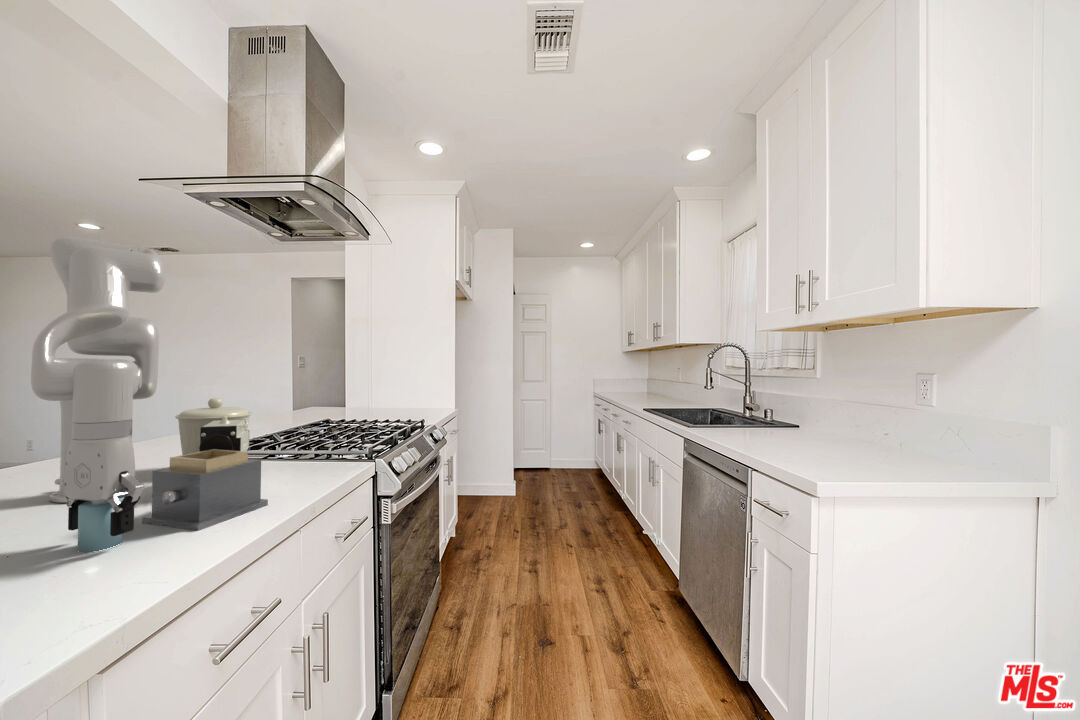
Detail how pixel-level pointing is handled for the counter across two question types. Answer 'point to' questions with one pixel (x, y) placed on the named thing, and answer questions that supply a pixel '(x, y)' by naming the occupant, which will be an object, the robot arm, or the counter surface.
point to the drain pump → (96, 526)
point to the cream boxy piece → (225, 435)
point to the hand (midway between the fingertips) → (101, 530)
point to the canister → (204, 422)
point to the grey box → (205, 489)
